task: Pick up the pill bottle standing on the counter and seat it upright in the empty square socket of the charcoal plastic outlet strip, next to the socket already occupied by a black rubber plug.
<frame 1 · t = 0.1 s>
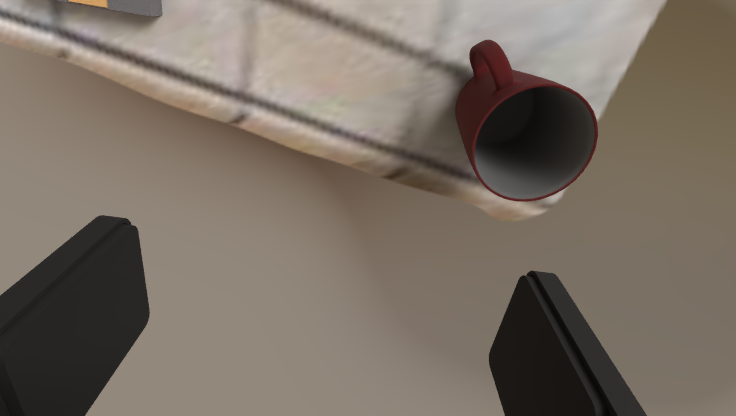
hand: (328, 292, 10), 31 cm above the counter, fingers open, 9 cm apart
mug: (487, 92, 38), on the counter
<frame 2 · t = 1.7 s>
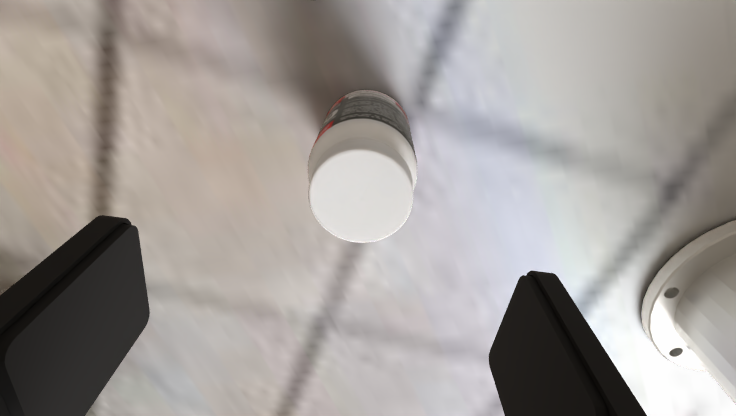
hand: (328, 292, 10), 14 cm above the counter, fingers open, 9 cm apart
pill bottle: (367, 130, 23), on the counter
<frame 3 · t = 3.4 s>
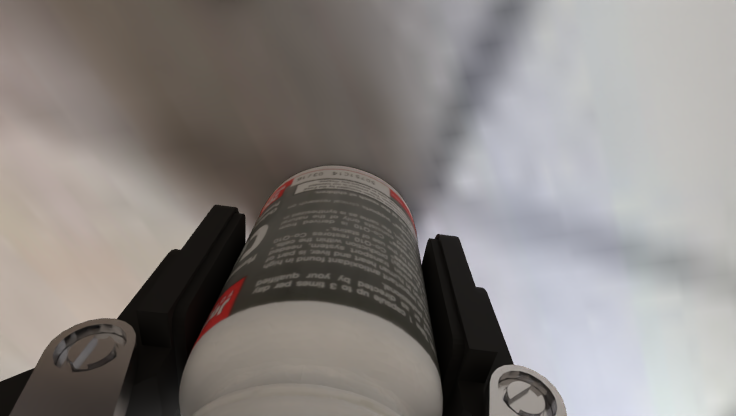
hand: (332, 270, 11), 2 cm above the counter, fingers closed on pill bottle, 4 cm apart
pill bottle: (339, 229, 13), on the counter, touching gripper
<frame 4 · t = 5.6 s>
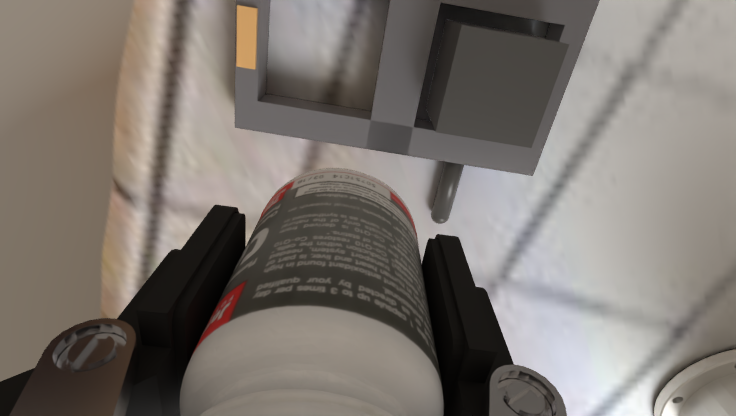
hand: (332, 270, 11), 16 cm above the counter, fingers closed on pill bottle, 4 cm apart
outlet strip: (401, 59, 24), on the counter
pill bottle: (339, 231, 13), point 14 cm above the counter, touching gripper
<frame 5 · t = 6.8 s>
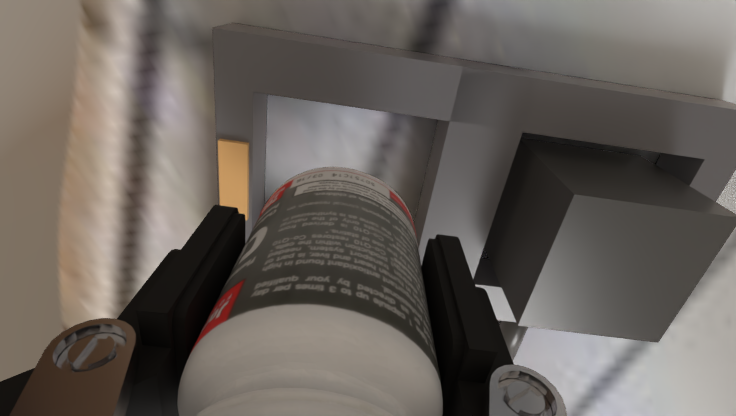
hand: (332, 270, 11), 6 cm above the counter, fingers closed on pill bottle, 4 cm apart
outlet strip: (452, 188, 17), on the counter
pill bottle: (338, 230, 13), point 4 cm above the counter, touching gripper
when the fingers open (3 cm above the counter, at t = 7.9 s): pill bottle stays where it is, resting in outlet strip.
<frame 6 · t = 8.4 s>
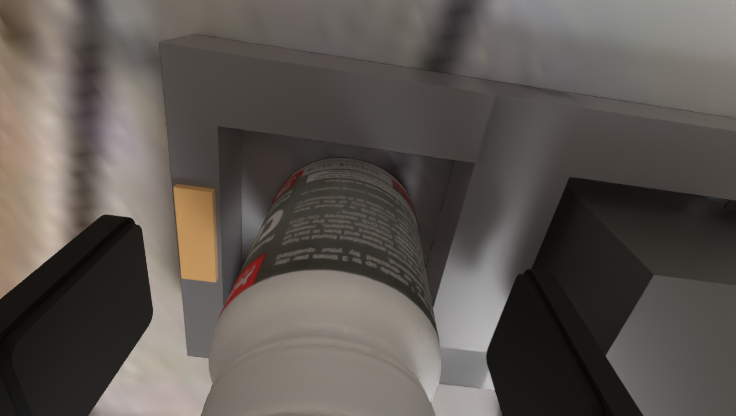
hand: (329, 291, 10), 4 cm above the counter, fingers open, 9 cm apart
outlet strip: (472, 235, 14), on the counter
pill bottle: (344, 218, 14), resting in outlet strip
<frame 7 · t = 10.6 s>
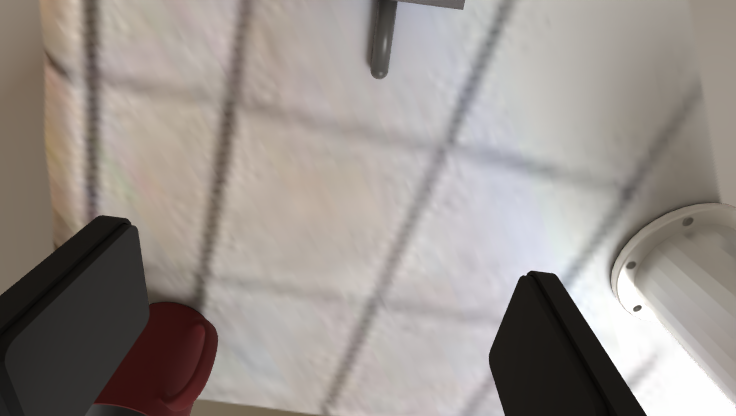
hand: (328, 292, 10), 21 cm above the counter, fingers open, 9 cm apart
mug: (186, 322, 40), on the counter
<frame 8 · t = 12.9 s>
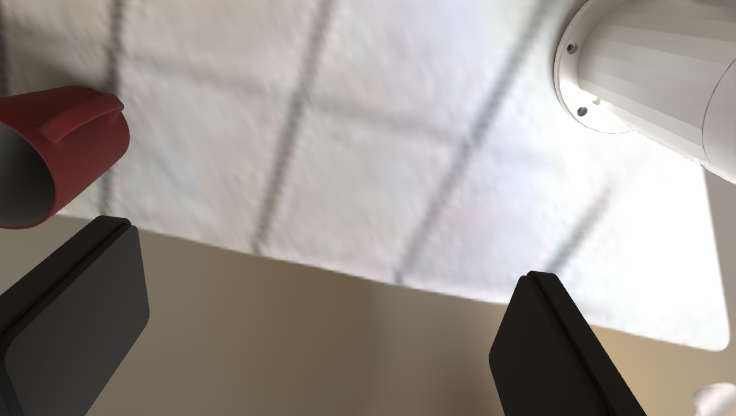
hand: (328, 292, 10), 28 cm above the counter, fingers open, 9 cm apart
mug: (102, 117, 37), on the counter
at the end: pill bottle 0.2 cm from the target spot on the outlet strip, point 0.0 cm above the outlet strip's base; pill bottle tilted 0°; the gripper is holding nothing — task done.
